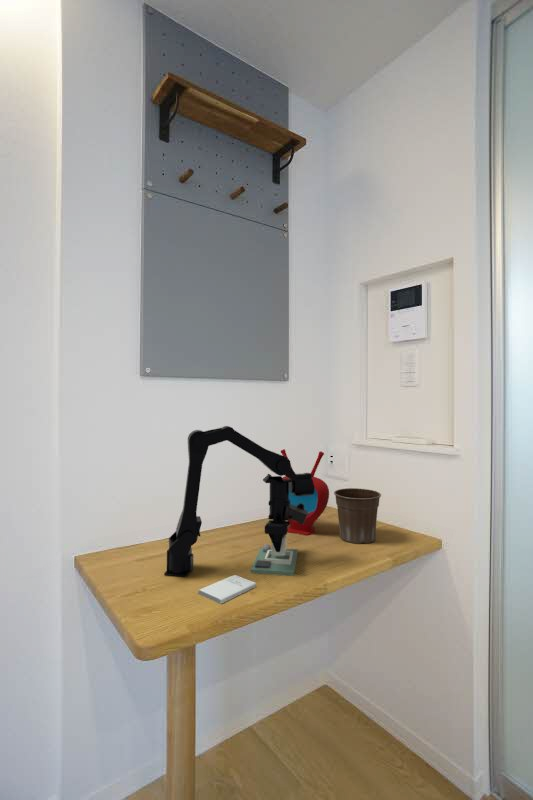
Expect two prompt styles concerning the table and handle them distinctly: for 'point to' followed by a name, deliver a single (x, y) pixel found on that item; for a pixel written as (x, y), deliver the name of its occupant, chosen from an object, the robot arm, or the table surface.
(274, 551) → the plug
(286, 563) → the board
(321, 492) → the novelty television
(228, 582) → the external hard drive
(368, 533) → the plant pot
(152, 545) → the table surface
